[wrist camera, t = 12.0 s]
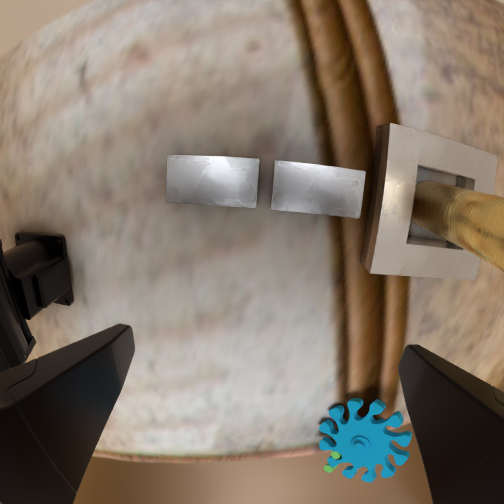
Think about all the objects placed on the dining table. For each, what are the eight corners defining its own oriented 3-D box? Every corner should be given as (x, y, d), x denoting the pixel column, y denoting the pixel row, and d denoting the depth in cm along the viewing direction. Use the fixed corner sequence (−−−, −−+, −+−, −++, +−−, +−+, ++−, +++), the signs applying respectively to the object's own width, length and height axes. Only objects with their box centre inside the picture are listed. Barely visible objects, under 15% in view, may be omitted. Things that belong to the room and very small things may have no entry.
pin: (400, 215, 20) (517, 277, 8) (418, 172, 19) (546, 198, 7) (434, 234, 20) (545, 301, 8) (451, 194, 19) (571, 234, 7)
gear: (363, 382, 23) (428, 457, 17) (385, 363, 27) (441, 427, 22) (292, 437, 27) (344, 500, 22) (321, 417, 32) (368, 473, 26)
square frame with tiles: (170, 245, 22) (160, 256, 19) (176, 107, 19) (165, 102, 16) (538, 276, 21) (551, 283, 19) (555, 188, 18) (570, 192, 16)
